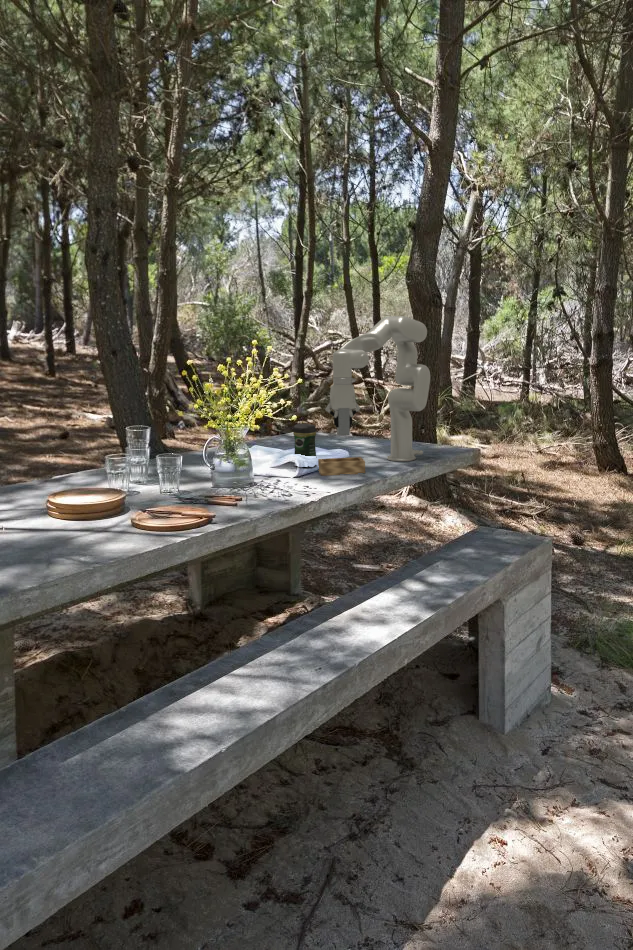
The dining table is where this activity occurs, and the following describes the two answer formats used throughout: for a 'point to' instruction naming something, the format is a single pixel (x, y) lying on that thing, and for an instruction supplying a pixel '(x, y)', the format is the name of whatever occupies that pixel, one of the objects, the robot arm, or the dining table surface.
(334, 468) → the wooden box
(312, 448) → the coffee jar
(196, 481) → the dining table surface
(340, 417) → the grey rectangular block
